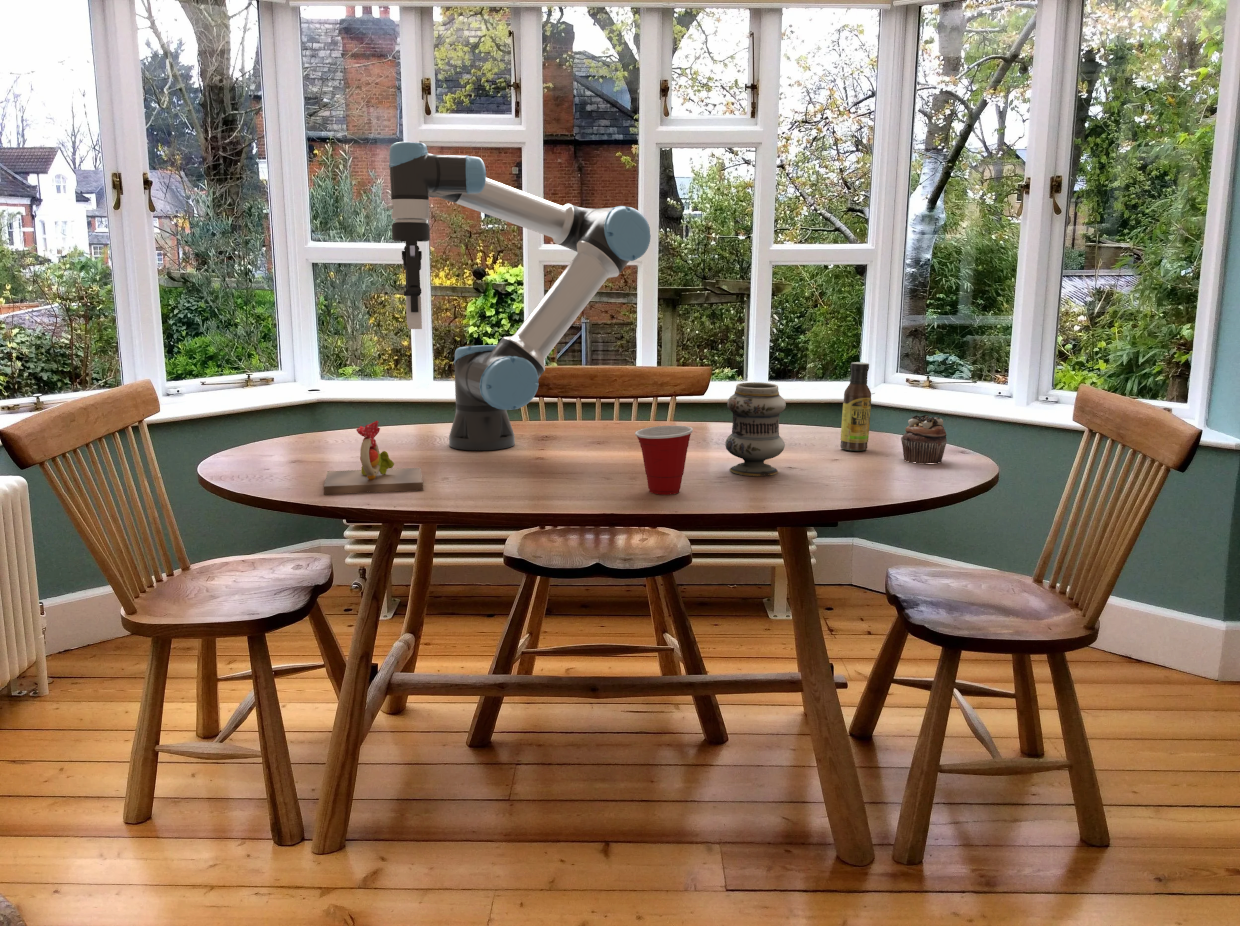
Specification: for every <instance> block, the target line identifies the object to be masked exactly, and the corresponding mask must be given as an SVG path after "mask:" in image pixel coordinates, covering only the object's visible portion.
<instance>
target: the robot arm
mask: <svg viewBox="0 0 1240 926" xmlns="http://www.w3.org/2000/svg"><path fill="white" fill-rule="evenodd" d="M388 160H389V162H388V163H389V164H388V168H389V179H390V180H389V181H390V183H389V184H390V199H391V200H390V202H391V204H388V207H387V208H388V210H392V211H391V219H392V220H393V221H394V222H393V223H392V224H391V237H392V241H394V242H405V246H404V247H403V248H404V249H403V250H401V260H402V265H403V266H402V267H403V268H402V269H403V270H405V286H404V288H405V291H403V296H404V297H405V308H406V309H405V310H406V311H405V312H406V325H407V329H408V330H422V329H423V324H422V323H423V322H422V319H423V317H422V296H421V295H422V288H421V278H420V276H421V273H420V271H421V270H422V258H423V254H422V253H423V252H422V250H420V246H419V245H418V242H425V243H426V242H429V241H430V240H431V235H430V234H431V233H430V224H429V222H428V221H429V220H430V199H429V198H438V199H439V198H440V199H442V200H445V201H448V202H450V203H454V204H457V205H460V206H462V207H465V208H469V209H471V210H474V211H477V212H479V213H482V214H485V215H488V216H490V217H493V218H496V219H499V220H502V221H504V222H507V223H510V224H513V225H516V226H518V227H522V228H524V229H527V230H530V231H533V232H535V233H539V234H541V235H543V236H546V237H549V238H551V239H552V240H553V243H554V244H556V245H559V246H561V247H564V248H567V249H569V250H571V251H574V252H576V253H577V254H576V255H575V256H574V257H573V259H572V260H571V262H569V264H568V265H567V267H566V268H565V269H564V270H563V271H562V273H561V274H560V275H559V276H558V278H557V280H555V282H554V283H553V284H552V285H551V287H550V288H549V289H548V291H547V292H546V293H545V294H544V296H543V297H542V298H541V300H540V301H539V302H538V303H537V305H536V306H535V307H534V309H533V310H532V311H531V313H530V314H529V315H528V316H527V317H526V318H525V320H524V322H523V323H522V324H521V325H520V326H519V328H518V329H517V330H516V332H515V333H514V334H513V335H512V336H510V335H509V336H503V337H502V338H501V340H500V341H499V342H498V343H497V344H488V345H487V344H486V345H485V344H484V345H470V346H468V345H467V346H460V347H458V348H456V349H455V352H454V361H453V365H454V386H455V387H454V388H455V389H454V390H455V395H454V396H455V414H454V418H453V422H452V425H451V428H450V431H449V435H448V445H449V447H450V448H452V449H457V450H464V451H495V450H502V449H507V448H511V447H514V446H515V444H516V442H515V441H516V439H515V433H514V429H513V427H512V424H511V421H510V418H509V414H508V411H511V410H512V411H513V410H518V409H521V408H523V407H525V406H527V405H528V404H529V403H530V402H531V401H532V400H533V399H534V397H535V396H536V394H537V393H538V389H539V385H540V384H539V379H540V378H541V376H542V375H543V373H544V372H545V371H546V367H545V359H546V358H547V357H548V356H549V355H550V353H551V352H552V351H553V349H554V348H555V346H556V345H557V344H558V343H559V342H560V340H561V339H562V337H564V335H565V334H566V332H567V331H568V330H569V328H570V327H571V326H572V325H573V323H574V322H575V321H576V320H577V318H578V317H579V316H580V314H581V313H582V311H584V310H585V308H586V306H587V305H588V304H589V302H590V301H591V300H592V298H594V296H595V295H596V294H597V292H598V291H599V290H600V288H601V287H602V286H603V284H605V282H606V281H607V280H608V279H609V278H617V277H618V276H619V275H620V274H621V272H622V271H624V269H625V268H626V266H627V265H628V264H629V262H634V261H636V260H638V259H641V257H643V255H645V254H646V252H647V250H648V249H649V247H650V245H651V244H650V243H651V235H652V234H651V228H650V225H649V222H648V220H647V218H646V217H645V215H644V214H643V213H641V212H640V211H639V210H637V209H636V208H634V207H631V206H625V205H618V206H617V205H616V206H615V207H603V208H586V207H580V206H577V205H574V204H571V203H565V204H564V205H561V204H558V203H555V202H552V201H550V200H547V199H545V198H541V197H539V196H536V195H534V194H531V193H528V192H526V191H524V190H521V189H518V188H514V187H512V186H509V185H507V184H504V183H502V182H498V181H496V180H493V179H491V178H488V177H487V170H486V165H485V163H484V160H483V159H482V158H481V157H479V156H472V155H471V156H470V155H454V154H453V155H451V154H448V155H447V154H432V153H429V151H428V146H427V144H425V143H423V142H414V141H399V142H398V141H397V142H394V143H392V144H391V145H390V147H389V159H388Z"/></svg>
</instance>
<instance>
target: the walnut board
mask: <svg viewBox="0 0 1240 926" xmlns="http://www.w3.org/2000/svg"><path fill="white" fill-rule="evenodd" d="M422 474H423V473H422V469H421V467H405V468H402V467H401V468H389V469H387V471H386V474H381V473H380V471H379V472H378V474H377V475H376V477H375V479H373V480H369V479H368V478H367V475H363V474H362V472H361V469H355V470H353V469H352V470H349V469H348V470H329V471H327V473H326V476H325V480H324V484H323V495H340V494H341V495H343V494H344V493H345V494H364V493H365V494H366V493H367V494H368V492H369V493H388V492H410V491H411V492H412V491H413V492H414V491H424V481H423V475H422Z"/></svg>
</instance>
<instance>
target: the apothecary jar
mask: <svg viewBox="0 0 1240 926" xmlns="http://www.w3.org/2000/svg"><path fill="white" fill-rule="evenodd" d="M786 403H787V402H786V401H785V399H784V397H782V396H781V395H780V392H779V385H778V384H775V383H769V382H762V381H761V382H760V381H759V382H752V381H751V382H741V383H737V384H736V385H735V390H734V393H733V394H732V395H731V396H729V398H728V399H727V402H726V405H727V409H728V410H729V411H730V412H732V426H731V428H732V429H731V434H729V436H727V438H726V440H725V443H724V444H725V445H724V446H725V449H726V450H727V451H728V453H729V454H730V455H732V456H734V457H736V458H739V459H742V460H743V461H744V462H739V463H738V464H736V465H733V466H731V467H730V468H729V472H730V473H732V474H735V475H740V476H745V477H765V476H769V477H771V476H775V475H777V474H778V473H779V471H778V469H777V468H776V467H773V466H772V465H770V464H768V463H765V461H766V460H770V459H773V458H776V457H778V456H779V455H781V454H782V453H783V451H784V450H785V446H786V445H785V443H786V442H785V441H784V439H783V437H781V436H780V414H781V413H782V412H784V411H785V409H786V405H787V404H786Z"/></svg>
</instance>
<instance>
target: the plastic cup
mask: <svg viewBox="0 0 1240 926" xmlns="http://www.w3.org/2000/svg"><path fill="white" fill-rule="evenodd" d="M692 433H693V427H691V426H686V425H658V426H650V427H646V428H645V427H644V428H642V429H639V430H636V431H635V433H634V435H635V436H636V437H637V439H638V442H639V444H640V448H641V453H642V459H643V465H644V466H643V467H644V469H645V470H644V471H645V475H646V483H647V487H648V491H649V493H650V494H655V495H663V496H664V495H665V496H668V495H675V494H678V493H680V489H681V487H682V481H683V475H684V472H685V466H686V460H687V453H688V448H689V445H690V444H689V443H690V439H691V435H692Z"/></svg>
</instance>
